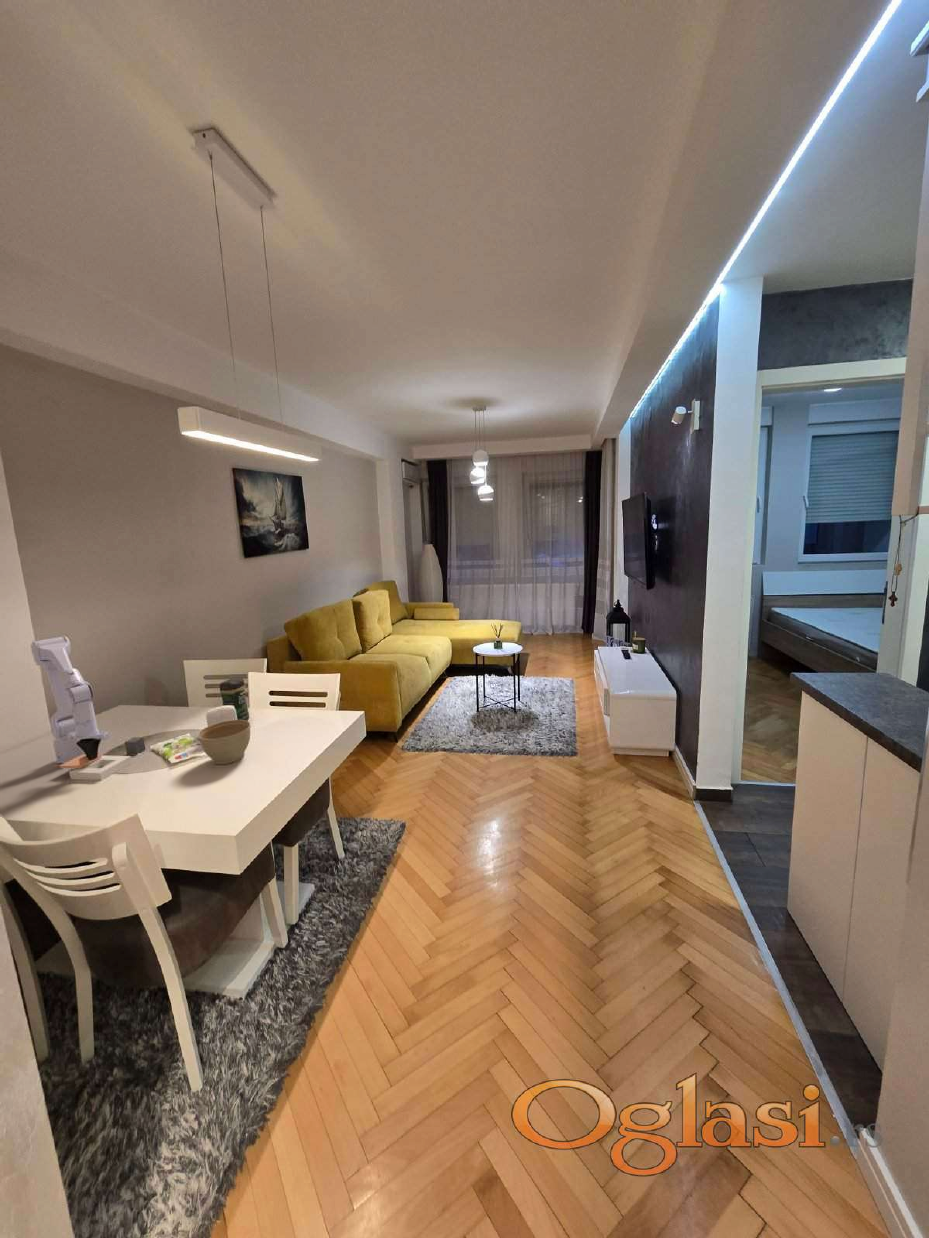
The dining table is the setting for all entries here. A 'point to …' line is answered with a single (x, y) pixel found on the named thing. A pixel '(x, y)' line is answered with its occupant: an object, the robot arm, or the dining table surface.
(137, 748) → the grey block
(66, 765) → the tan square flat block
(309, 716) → the dining table surface
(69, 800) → the dining table surface
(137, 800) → the dining table surface
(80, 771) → the socket
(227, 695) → the coffee jar
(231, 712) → the white rounded block
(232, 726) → the planter bowl
